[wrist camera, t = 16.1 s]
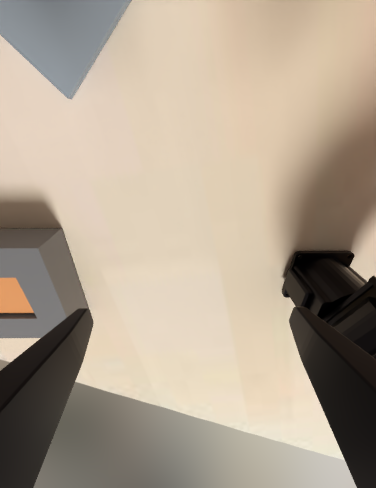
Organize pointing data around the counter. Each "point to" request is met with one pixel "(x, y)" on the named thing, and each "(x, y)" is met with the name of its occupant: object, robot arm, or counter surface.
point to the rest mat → (60, 35)
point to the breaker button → (13, 297)
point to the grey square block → (39, 280)
